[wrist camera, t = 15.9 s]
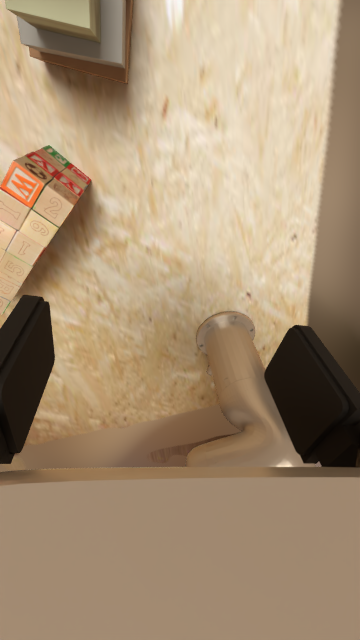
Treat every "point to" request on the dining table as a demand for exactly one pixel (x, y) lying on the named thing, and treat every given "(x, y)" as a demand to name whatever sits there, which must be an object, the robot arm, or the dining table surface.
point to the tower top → (72, 47)
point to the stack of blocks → (33, 212)
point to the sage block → (61, 16)
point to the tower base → (92, 67)
